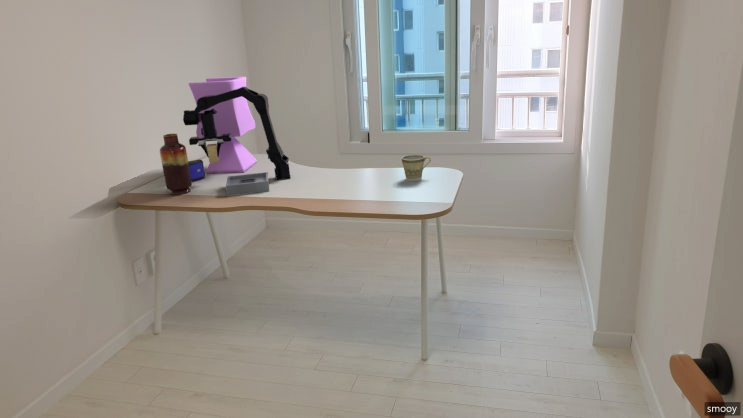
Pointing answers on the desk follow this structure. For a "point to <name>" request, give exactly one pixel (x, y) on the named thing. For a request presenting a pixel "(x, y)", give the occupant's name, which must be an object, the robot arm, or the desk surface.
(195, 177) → the blue screen device
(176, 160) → the vase
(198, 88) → the lavender hourglass shape
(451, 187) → the desk surface
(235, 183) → the grey socket tray
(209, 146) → the connector plug
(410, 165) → the ceramic cup
